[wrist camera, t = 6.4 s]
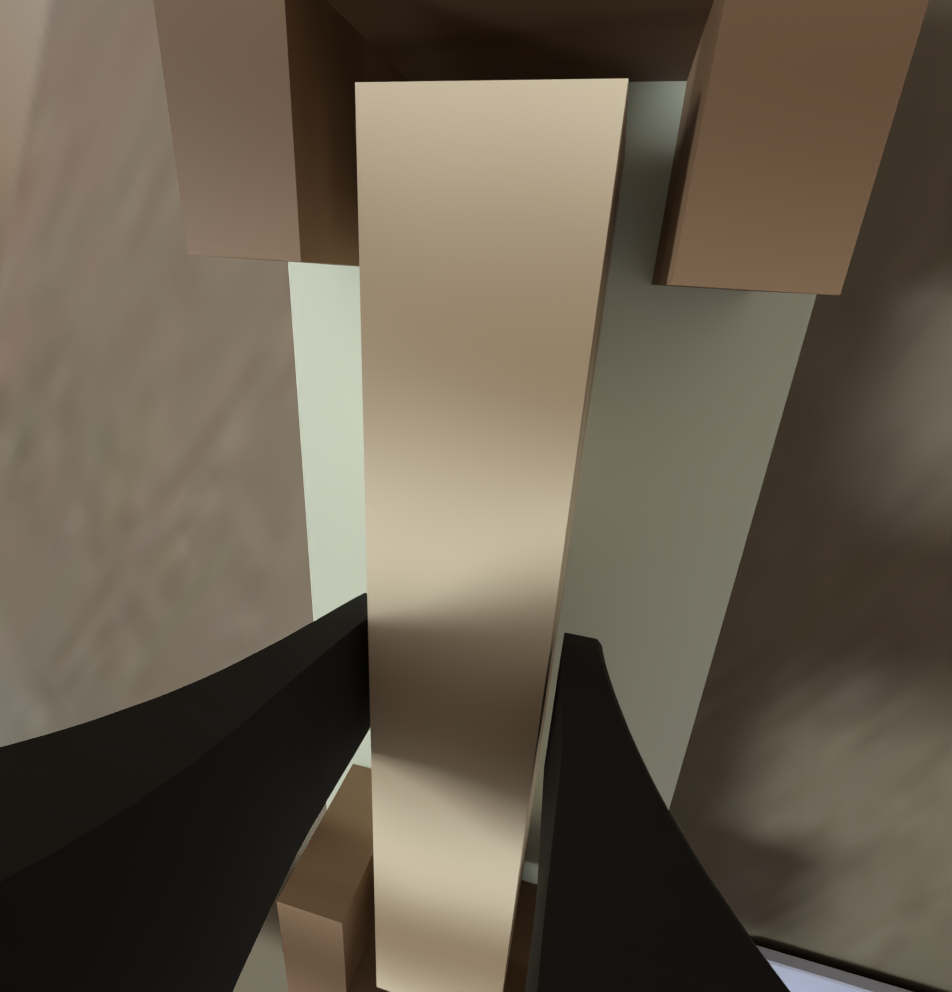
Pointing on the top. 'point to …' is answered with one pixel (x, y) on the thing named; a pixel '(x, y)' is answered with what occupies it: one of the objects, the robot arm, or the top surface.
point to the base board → (599, 457)
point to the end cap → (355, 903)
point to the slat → (471, 480)
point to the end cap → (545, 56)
